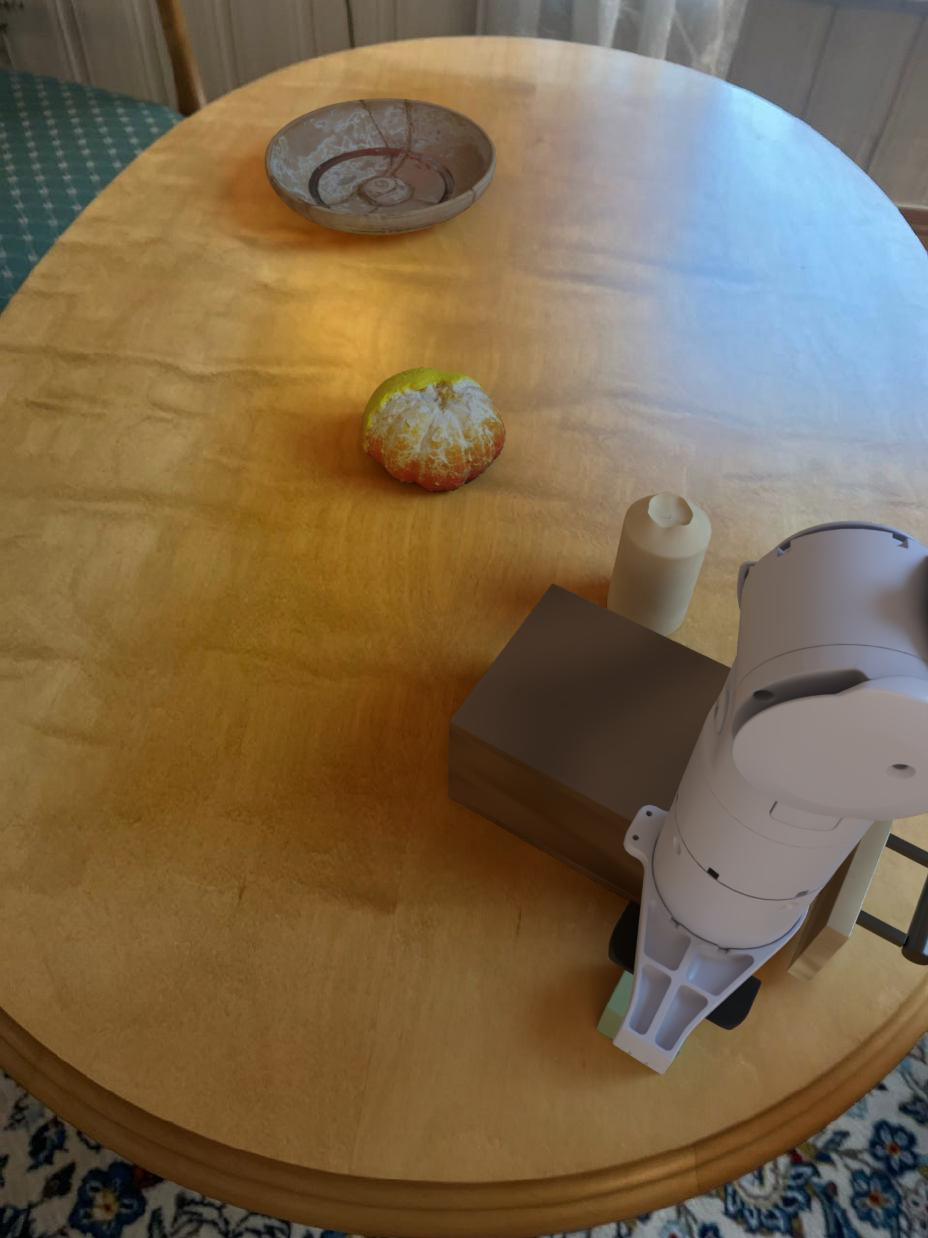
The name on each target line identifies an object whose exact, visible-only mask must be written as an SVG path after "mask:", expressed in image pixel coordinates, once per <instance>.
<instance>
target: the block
mask: <svg viewBox="0 0 928 1238" xmlns="http://www.w3.org/2000/svg"><path fill="white" fill-rule="evenodd" d="M633 976H634V975H632V974H631V973H629V972H627V971H626V970H624V969H623V972H622V974H621V976H620V978H619V980H618V982H617V983H616V986H615V987H614V989H613V992H612V993H611V995H610V997H609V999H608V1001H607V1003H606V1005H605V1007H604V1008H603V1009H604V1010H603V1011H602V1014H601V1016H600V1019H599V1020H598V1022H597V1024H596V1028H595V1030H596V1031H598V1032H599V1033H601V1034H603V1035H604V1036H605V1037H607V1038H608V1039H611V1040H612V1041H613V1039H614V1037H615V1035H616V1033H617V1031H618V1029H619V1027H620V1025H621V1023H622V1020H623V1018H624V1016H625V1014H626V1011H627V1007H628V1004H629V1000H630V996H631V990H632V984H633ZM688 1037H689V1035H688V1036H687V1037H686V1039H685V1040H684V1042H683V1043H682V1045H681V1047H680V1049H679V1051H678V1053H677V1055H676V1056H675V1058H674V1060H673V1062H672V1063H671V1064H670V1066H669V1067H668V1069H667V1070H666V1071H665V1073H666V1072H668V1070H669V1068H670V1067H671V1066H672V1065H673V1063H674V1062H675V1060H676V1059H677V1058H678V1057H679V1055H680V1054H681V1052H682V1050H683V1048H684V1045H685V1044H686V1041H687V1040H688Z"/></svg>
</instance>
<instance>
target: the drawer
mask: <svg viewBox="0 0 928 1238" xmlns="http://www.w3.org/2000/svg"><path fill="white" fill-rule="evenodd" d="M895 821H896V819H894V820H884V821H875V822H874V823H873V824H872V825H871V827H870V828H869V829H868V830H867V832H866V833H865V834H864V836H863V837H862V838H861V839H860V841H859V842H858V843H857V845H856V846H855V847H854V848H853V850H852V851H851V852H850V853H849V855H848V856H847V857H846V859H845V860H844V861H843V862H842V864H841V865H840V866H839V868H838V869H837V870H836V871H835V873H834V875H833V876H832V877H831V879H830V880H829V881H828V882H827V884H826V885H825V886H824V887H823V889H822V890H821V891H820V892H819V893H818V895H817V896H816V898H815V901H814V904H813V905H812V908H811V911H810V913H809V916H808V917H807V920H806V923H805V925H804V928H803V930H802V932H801V934H800V936H799V939H798V941H797V942H798V943H797V944H796V947H795V949H794V952H793V953H792V956H791V959H790V961H789V964H788V966H787V968H786V973H787V974H790V975H791V976H793V977H795V978H797V979H798V980H800V981H802V982H804V983H805V984H809V982H811V981H812V979H814V977H815V976H816V975H817V974H818V973H819V972H820V971H821V969H823V967H824V966H825V965H826V964H827V963H828V962H829V961H830V960H831V959H832V958H833V957H834V956H835V954H837V952H838V951H840V950H841V948H842V947H843V946H844V945H845V944H846V943H847V942H848V940H849V939H850V938H851V936H852V933H853V932H854V931H853V930H854V928H855V926H856V925H857V926H859V927H861V928H863V929H865V930H867V931H868V932H870V933H872V934H874V935H876V936H878V937H880V938H882V940H885V941H887V942H889V943H891V944H892V945H894V946H897V947H898V948H901V949H900V950H901V951H900V953H901V956H902V957H904V958H905V959H906V960H907V961H909V962H910V963H912V964H914V965H918V966H928V873H927V875H926V878H925V881H924V883H923V885H922V889H921V892H920V895H919V898H918V900H917V903H916V906H915V909H914V912H913V915H912V918H911V920H910V923H909V926H908V929H907V932H904V931H902V930H900V929H899V928H897V927H895V926H893V925H891V924H889V923H887V922H885V921H883V920H882V919H880V918H878V917H876V916H874V915H872V914H870V913H869V912H866V911H865V910H863V909H862V907H863V905H864V902H865V900H866V897H867V895H868V892H869V889H870V886H871V884H872V881H873V878H874V876H875V873H876V871H877V868H878V866H879V864H880V861H881V857H882V855H883V852H884V850H885V847H886V848H887V849H889V850H891V851H893V852H895V853H897V854H899V855H901V856H903V857H905V858H906V859H909V860H911V861H913V862H914V863H917V864H918V865H920V866H923V867H925V868H926V869H928V851H927V850H925V849H923V848H921V847H919V846H917V845H915V844H913V843H911V842H909V841H907V840H906V839H903V838H901V837H899V836H897V835H896V834H893V833H892V830H893V827H894V824H895Z"/></svg>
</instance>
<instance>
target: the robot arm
mask: <svg viewBox="0 0 928 1238" xmlns="http://www.w3.org/2000/svg"><path fill="white" fill-rule="evenodd" d="M736 596H737V604H738V608H739V622H738V633H737V645H736V655H735V658H734V660H733V662H732V664H731V666H730V668H731V670H730V672H729V675H728V677H727V680H726V682H725V684H724V687H723V689H722V691H721V693H720V695H719V697H718V699H717V701H716V702H715V704H714V705H713V707H712V708H711V710H710V712H709V714H708V716H707V718H706V721H705V723H704V726H703V728H702V731H701V733H700V736H699V738H698V740H697V743H696V745H695V748H694V750H693V753H692V755H691V758H690V760H689V763H688V765H687V768H686V770H685V773H684V775H683V778H682V780H681V783H680V785H679V788H678V791H677V793H676V796H675V799H674V801H673V803H672V806H671V808H670V811H669V812H666V811H663V810H661V809H659V808H658V807H655V806H652V805H647V806H643V807H642V808H641V809H640V810H639V811H638V813H637V815H636V816H635V818H634V820H633V822H632V823H631V825H630V827H629V829H628V831H627V833H626V835H625V839H624V843H623V844H624V847H625V850H626V851H627V852H628V853H629V854H630V855H632V856H634V857H636V858H637V859H639V860H640V861H641V862H642V864H643V866H644V880H643V889H642V899H641V905H640V904H638V903H636V902H635V901H633V900H631V899H630V900H629V901H628V902H627V904H626V906H625V907H624V909H623V911H622V913H621V915H620V917H619V918H618V921H617V923H616V924H615V926H614V928H613V930H612V932H611V934H610V938H609V941H608V948H607V949H608V952H607V953H608V958H609V960H610V961H612V962H613V963H614V964H615V965H617V966H618V967H619V968H621V969H623V971H624V970H626V971H627V972H629V973H631V974H632V975H634V976H633V984H632V990H631V996H630V1000H629V1004H628V1007H627V1011H626V1014H625V1016H624V1018H623V1020H622V1023H621V1025H620V1027H619V1029H618V1031H617V1033H616V1035H615V1037H614V1039H613V1040H612V1045H613V1046H615V1047H617V1048H618V1049H619V1050H621V1051H623V1052H624V1053H626V1054H628V1055H629V1056H631V1057H632V1058H634V1059H635V1060H637V1061H638V1062H639V1063H641V1064H643V1065H644V1066H647V1067H648V1068H650V1069H652V1070H653V1071H655V1073H658V1074H659V1075H664V1074H665V1073H666V1072H667V1071H668V1070H669V1068H670V1067H671V1066H670V1064H671V1063H672V1062H673V1060H674V1058H675V1056H676V1055H677V1053H678V1051H679V1049H680V1047H681V1045H682V1043H683V1042H684V1040H685V1039H686V1037H687V1036H688V1037H689V1035H690V1034H691V1033H692V1032H693V1030H694V1029H695V1028H696V1027H697V1026H698V1025H700V1023H701V1022H703V1021H704V1019H705V1020H706V1021H709V1022H710V1023H712V1024H713V1025H715V1026H717V1027H719V1028H722V1029H724V1030H726V1031H732V1030H734V1029H736V1028H737V1027H738V1026H740V1025H741V1024H742V1023H743V1022H744V1021H745V1020H746V1019H747V1017H748V1016H749V1014H750V1012H751V1009H752V1007H753V1005H754V1003H755V1000H756V997H757V995H758V993H759V990H760V988H761V986H762V983H763V982H762V981H761V979H759V978H757V977H756V976H754V975H753V974H755V972H757V971H758V970H759V969H760V968H761V967H762V966H764V964H765V963H766V962H768V961H769V960H770V959H771V958H772V957H774V955H776V953H778V952H779V951H780V950H781V949H782V948H783V947H784V946H785V945H786V944H787V943H788V942H790V941H791V939H792V938H793V937H794V936H795V935H796V933H797V932H798V931H799V930H800V928H801V926H802V925H803V923H804V921H805V919H806V917H807V915H808V912H809V908H810V906H811V904H812V903H813V901H814V900H816V898H817V896H818V894H819V892H820V891H821V890H822V889H823V887H824V886H825V885H826V884H827V882H828V881H829V880H830V879H831V877H832V876H833V875H834V873H835V871H836V870H837V869H838V868H839V866H840V865H841V864H842V862H843V861H844V860H845V859H846V857H847V856H848V855H849V853H850V852H851V851H852V850H853V848H854V847H855V846H856V845H857V843H858V842H859V841H860V839H861V838H862V837H863V836H864V834H865V833H866V832H867V830H868V829H869V828H870V827H871V825H872V824H873V823H874V822H875V821H884V820H894V819H895V820H901V819H907V818H911V817H916V816H921V815H924V814H928V546H926V545H924V543H922V542H921V541H920V540H919V539H917V538H916V537H914V536H913V535H911V534H909V533H907V532H906V531H903V530H901V529H898V528H896V527H894V526H890V525H887V524H884V523H883V524H882V523H875V522H872V521H865V520H839V521H831V522H825V523H820V524H816V525H813V526H810V527H807V528H804V529H802V530H799V531H798V532H795V533H793V534H792V535H790V536H788V537H787V538H785V539H784V540H782V541H781V542H780V543H778V544H777V545H776V546H775V547H774V548H773V549H772V550H770V551H769V552H767V553H766V554H765V555H763V556H762V557H761V558H760V559H759V560H758V561H757V560H756V561H755V560H753V561H752V560H746V561H743V562H742V563H741V564H740V566H739V569H738V573H737V583H736ZM688 1037H687V1038H688ZM686 1040H687V1039H686ZM674 1061H675V1060H674ZM673 1063H674V1062H673ZM673 1063H672V1064H673ZM672 1064H671V1065H672ZM669 1066H670V1067H669ZM668 1067H669V1068H668ZM667 1069H668V1070H667ZM666 1070H667V1071H666ZM665 1071H666V1072H665Z"/></svg>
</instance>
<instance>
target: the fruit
mask: <svg viewBox="0 0 928 1238" xmlns="http://www.w3.org/2000/svg"><path fill="white" fill-rule="evenodd" d="M506 433H507V432H506V426H505V423H504V421H503V418H502V414H501V412H500V411H499V409H498V408H497V407H496V406H495V403H494V401H493V399H492V398H491V397H490V394H489V393H488V392H487V391H485V389H484V388H483V385H481V384H480V383H479V382H478V381H477V380H475V379H474V378H472V377H470V376H469V375H466V374H464V373H462V372H457V371H451V370H450V371H447V370H441V369H436V368H433V367H424V366H421V367H413V368H411V369H407V370H404V371H401V372H398V373H395V374H394V375H391V376H390V377H388V378H387V379H385V380H383V382H382V383H380V384H379V385H378V387H377V388H376V389H375V390H374V391H373V393H372V395H370V398H369V399H368V402H367V404H366V406H365V409H364V411H363V414H362V419H361V437H360V438H361V445H362V450H363V452H364V454H366V455H368V456H371V457H372V458H373V459H374V461H375V462H377V463H378V464H380V465H381V466H383V467H384V469H385V470H386V471H387V472H388V473H389V474H390V475H391V476H392V477H393V478H394V479H397V480H398V481H400V483H408V484H410V483H411V484H412V483H416V484H418V485H420V486H421V487H422V488H424V490H426V491H429V492H432V493H433V492H434V493H435V494H437V493H438V492H442V491H444V492H448V491H452V492H454V491H456V490H459V488H460V487H463V486H464V485H465V484H466V485H467V484H469V483H471V482H473V481H475V480H476V479H477V478H478V477H479V476H480V475H482V474H484V473H486V470H487V469H488V468H490V466H491V465H492V464H493V463H494V461H495V460H496V459H497V458H498V457H500V455H501V453H502V451H503V449H504V447H505V446H504V444H505V441H506Z"/></svg>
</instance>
